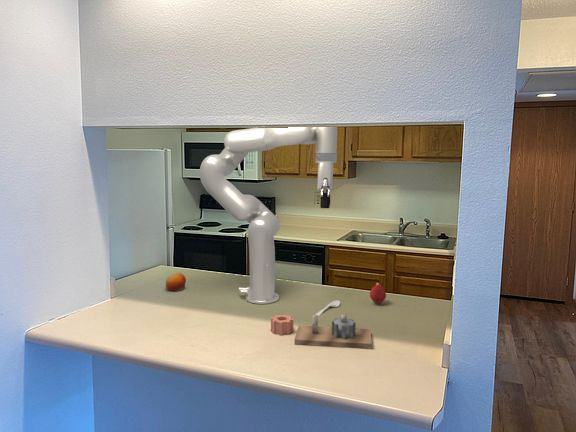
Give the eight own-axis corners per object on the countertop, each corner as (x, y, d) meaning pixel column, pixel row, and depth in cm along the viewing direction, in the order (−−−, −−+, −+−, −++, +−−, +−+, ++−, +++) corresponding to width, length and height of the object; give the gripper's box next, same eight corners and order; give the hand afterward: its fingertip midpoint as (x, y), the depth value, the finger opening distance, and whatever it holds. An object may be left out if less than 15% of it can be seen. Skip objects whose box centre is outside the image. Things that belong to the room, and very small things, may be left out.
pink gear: (269, 334, 138) (269, 322, 137) (273, 326, 144) (273, 314, 144) (291, 335, 137) (291, 323, 136) (294, 327, 143) (294, 315, 143)
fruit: (188, 289, 179) (177, 272, 178) (171, 299, 180) (160, 282, 179) (192, 283, 187) (182, 267, 186) (176, 292, 188) (166, 276, 187)
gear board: (294, 344, 131) (294, 319, 130) (298, 329, 141) (298, 306, 140) (371, 348, 128) (372, 323, 127) (370, 333, 138) (370, 310, 137)
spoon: (343, 305, 166) (343, 301, 166) (314, 322, 149) (314, 317, 149) (333, 303, 168) (333, 299, 168) (303, 319, 151) (303, 315, 151)
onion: (384, 301, 168) (385, 281, 167) (386, 307, 163) (387, 285, 162) (368, 301, 169) (369, 280, 168) (370, 306, 163) (370, 285, 162)
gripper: (316, 158, 169) (316, 203, 171) (314, 158, 152) (313, 209, 154) (336, 158, 168) (336, 204, 171) (336, 158, 151) (335, 209, 153)
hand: (325, 206), depth 162 cm, fingers open, 9 cm apart
